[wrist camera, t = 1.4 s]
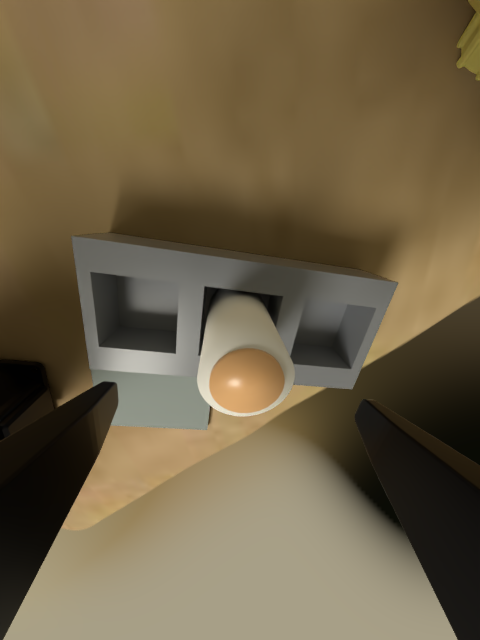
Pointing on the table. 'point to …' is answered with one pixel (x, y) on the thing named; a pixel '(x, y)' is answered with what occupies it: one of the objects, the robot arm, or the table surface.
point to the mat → (156, 400)
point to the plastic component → (471, 43)
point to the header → (194, 298)
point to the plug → (242, 356)
